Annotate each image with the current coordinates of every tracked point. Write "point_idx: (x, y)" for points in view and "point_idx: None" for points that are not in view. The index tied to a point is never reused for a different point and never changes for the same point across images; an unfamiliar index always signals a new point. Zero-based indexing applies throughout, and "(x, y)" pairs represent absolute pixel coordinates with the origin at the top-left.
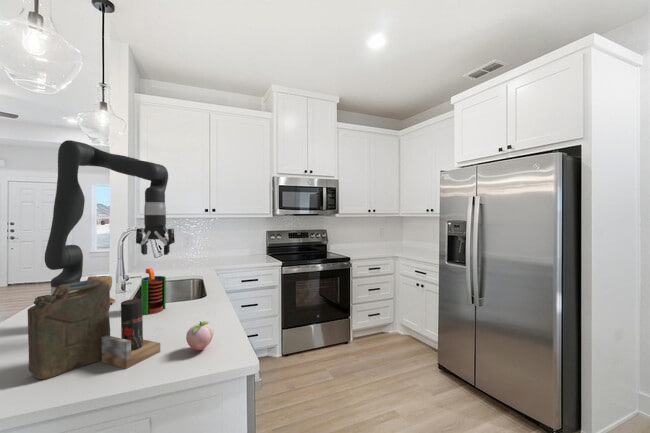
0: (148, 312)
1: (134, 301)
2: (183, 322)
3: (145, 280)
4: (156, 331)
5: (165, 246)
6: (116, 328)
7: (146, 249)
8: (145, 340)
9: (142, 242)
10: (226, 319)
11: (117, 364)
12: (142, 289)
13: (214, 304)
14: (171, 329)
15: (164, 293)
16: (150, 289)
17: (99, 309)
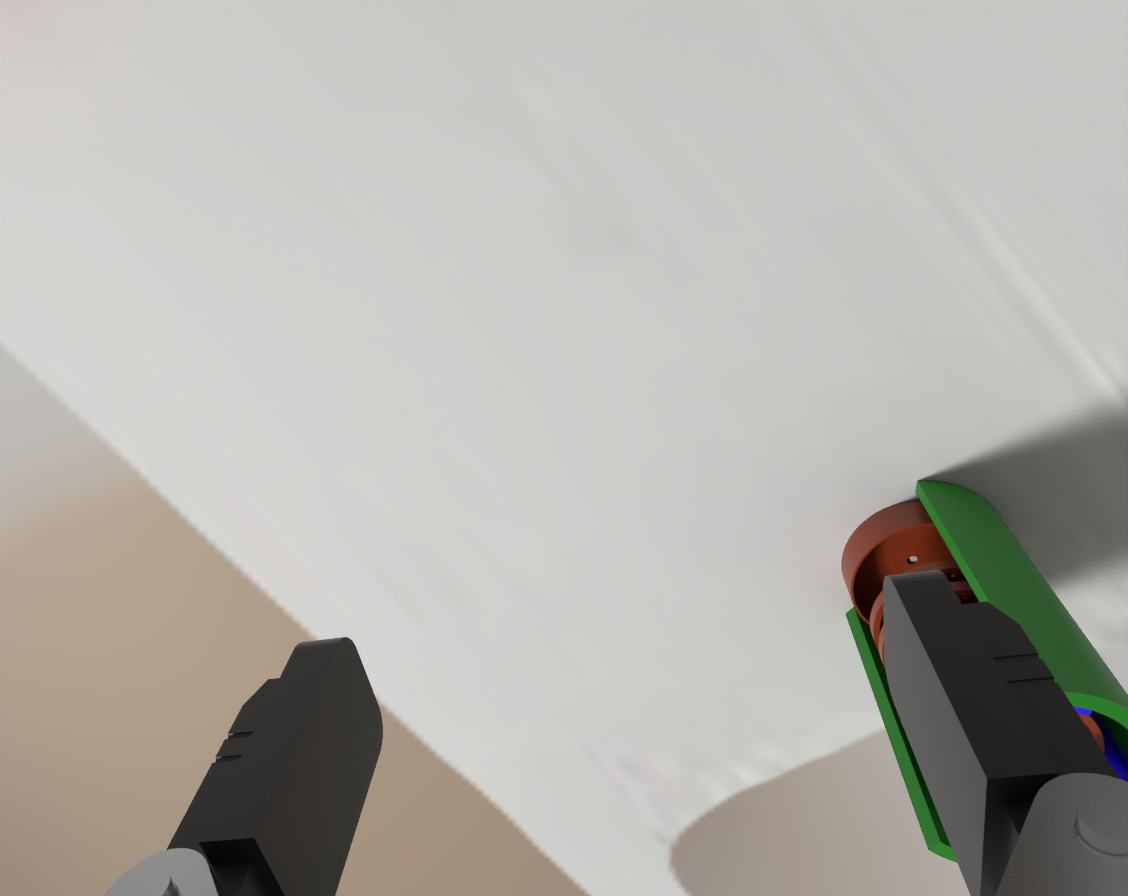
0: (919, 506)
1: None
2: (499, 388)
3: (1071, 700)
4: (580, 173)
5: (212, 820)
6: (983, 162)
7: (924, 752)
8: None
9: (1104, 877)
10: (223, 496)
11: None
12: (1063, 627)
13: (524, 740)
14: (488, 238)
15: (886, 705)
16: None
17: None
